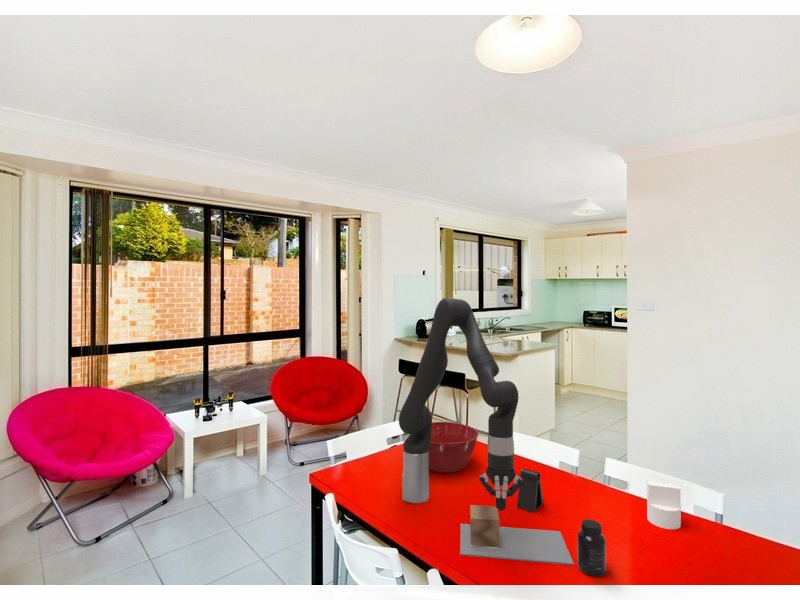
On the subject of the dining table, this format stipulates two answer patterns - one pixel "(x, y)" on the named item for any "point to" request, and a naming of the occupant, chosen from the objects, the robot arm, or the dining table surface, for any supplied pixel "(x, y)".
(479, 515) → the walnut block
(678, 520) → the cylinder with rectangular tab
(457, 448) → the mixing bowl
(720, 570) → the dining table surface
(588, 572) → the supplement bottle
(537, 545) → the rubber mat
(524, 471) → the black coffee bag
